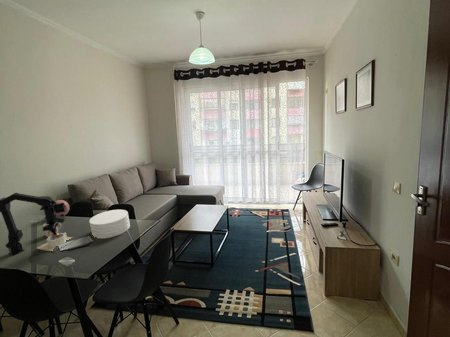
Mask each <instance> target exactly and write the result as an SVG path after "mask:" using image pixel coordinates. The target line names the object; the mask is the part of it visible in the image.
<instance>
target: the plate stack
mask: <svg viewBox="0 0 450 337" xmlns="http://www.w3.org/2000/svg"><path fill="white" fill-rule="evenodd" d="M130 222H131V221H130V218H129V212H128V211H127V210H126V209H112V210H106V211H103V212H100V213H98V214H95V215H94V216H92V217H91V218H89V222H88V223H89V226H90V230H91V235H93V236H94V237H93V236H92V237H93V238H95V237H97V238H96V239H109V238H112V237H116V236H119V235H122V234H124V233H125V232H127V231H128V230H129V229H130V228H131V224H130Z"/></svg>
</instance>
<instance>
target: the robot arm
mask: <svg viewBox="0 0 450 337" xmlns="http://www.w3.org/2000/svg"><path fill="white" fill-rule="evenodd" d="M14 201H21V202H26V203H33V204H36V205H38V206H41V207H40V209H39V211H43V213H44V219H45V220H46V222H45V223H46V224H49V225H45V226H44V227H43V226H42V231H43V232H44V231H48V230H50V231H51V232H52V233H53V234H54V235H55V234H56V228H58V225H60V224H63V223H64V222H65V221H66V215H64V214H61V215H59V216H57V214H55V213H61V212H66V205H65V204H64V202H63V203H58V204H57V203H56V202H55V201H56V200H54V199H53V198H52V196H48V195H47V196H46V195H42V196H38V195H37V196H35V195H30V194H25V193H18V192H14V193H12V194H11V195H9V196H6V197H1V198H0V213H1V216H2V219H3V221H4V224H5V225H6V228H7V232H8V234H7V240H8V242H7V243H6V244H5V247H6V248H7V249H8V255H10V256H11V255H12V256H15V255H17V254H19V253H22V252H23V251H25V250H24V248H23V244H22V243H21V240H22V238H23V236H24V233H23V231H22V229H19V228H17V225H16V222H15V219H14V218H13V215H12V211H11V202H14ZM53 208H54V209H53ZM59 223H60V224H59Z"/></svg>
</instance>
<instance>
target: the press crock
mask: <svg viewBox="0 0 450 337" xmlns="http://www.w3.org/2000/svg"><path fill="white" fill-rule="evenodd" d="M58 233H59V234H60V235H59V236H58V237H57V239H55V238H52V237H51V236H50V237H47V238H46V241H47V242H46V243H44V244H41V245H40V246H38V247H36V249H37V250H41V251H47V252H51V251H53V249H54V248H55V247H56V246H58V245H60V244H63V243H65V242H66V240H69V239H71V238H72V237H71V236H68V235H67V232H58Z"/></svg>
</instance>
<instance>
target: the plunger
mask: <svg viewBox="0 0 450 337" xmlns="http://www.w3.org/2000/svg"><path fill="white" fill-rule="evenodd" d="M59 233H60V232H58V233H56V234H55V235H54V234H52V235H51V237H52V238H55V239H57V237H58V236H59V235H60V234H59Z"/></svg>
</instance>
